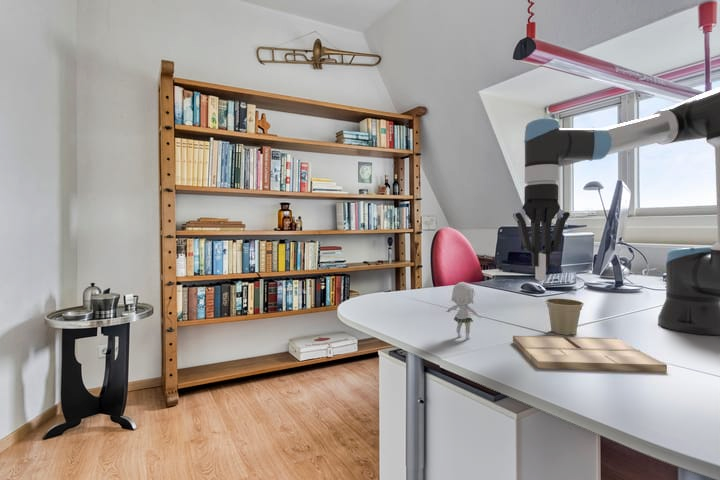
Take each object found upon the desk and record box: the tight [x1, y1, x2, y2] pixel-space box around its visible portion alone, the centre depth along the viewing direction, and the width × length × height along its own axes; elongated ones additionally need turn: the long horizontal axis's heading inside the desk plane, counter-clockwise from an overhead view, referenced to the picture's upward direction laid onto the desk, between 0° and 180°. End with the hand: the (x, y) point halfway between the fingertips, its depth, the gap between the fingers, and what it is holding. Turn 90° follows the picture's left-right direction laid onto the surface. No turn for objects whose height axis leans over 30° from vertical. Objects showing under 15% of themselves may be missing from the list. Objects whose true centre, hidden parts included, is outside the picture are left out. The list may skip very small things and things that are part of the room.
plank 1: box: [512, 335, 576, 354], centre depth 91 cm, size 12×8×2 cm
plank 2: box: [565, 336, 637, 350], centre depth 90 cm, size 12×8×2 cm
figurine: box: [445, 281, 482, 340], centre depth 99 cm, size 10×6×15 cm, turn 47°
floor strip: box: [523, 347, 668, 373], centre depth 81 cm, size 25×9×2 cm, turn 84°
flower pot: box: [545, 297, 585, 336], centre depth 104 cm, size 9×9×9 cm
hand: (540, 279), depth 93 cm, fingers closed
